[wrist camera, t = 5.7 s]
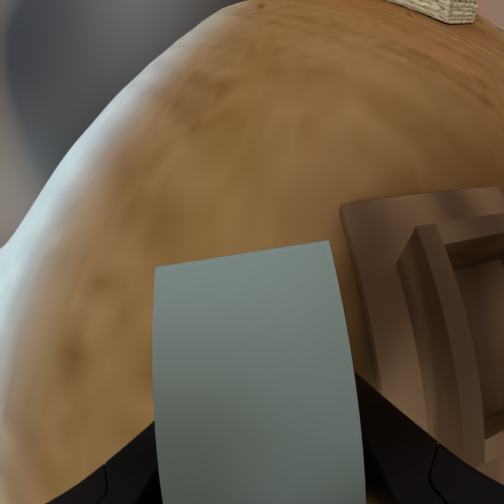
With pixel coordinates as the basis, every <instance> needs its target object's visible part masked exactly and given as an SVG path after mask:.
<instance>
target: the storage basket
mask: <svg viewBox="0 0 504 504" xmlns="http://www.w3.org/2000/svg"><path fill="white" fill-rule="evenodd" d="M386 1H388V2H391V3H396V4H398V5H402V6H404V7H406V8H409V9H411V10H414V11H418V12H420V13H423V14H425V15H428V16H431V17H433V18H435V19H438V20H440V21H443V22H445V23H448V24H456V23H457V24H460V23H462V24H465V23H473V22H474V20H475V16H476V12H477V9H478V4H479V0H386Z"/></svg>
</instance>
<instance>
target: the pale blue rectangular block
mask: <svg viewBox="0 0 504 504" xmlns="http://www.w3.org/2000/svg"><path fill="white" fill-rule="evenodd" d="M152 361H153V401H154V421H155V436H156V448H157V459H158V469H159V477H160V486H161V493H162V500H163V504H366V493H365V474H364V459H363V446H362V435H361V425H360V416H359V407H358V399H357V391H356V383H355V376H354V369H353V363H352V356H351V350H350V344H349V338H348V332H347V326H346V320H345V315H344V310H343V304H342V299H341V294H340V289H339V284H338V279H337V275H336V270H335V265H334V261H333V256H332V252H331V248H330V243H329V240H327V241H320V242H314V243H308V244H301V245H295V246H288V247H282V248H276V249H269V250H263V251H256V252H250V253H244V254H237V255H231V256H224V257H218V258H212V259H205V260H199V261H192V262H186V263H180V264H173V265H167V266H160V267H155V281H154V301H153V343H152Z"/></svg>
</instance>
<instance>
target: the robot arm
mask: <svg viewBox="0 0 504 504" xmlns="http://www.w3.org/2000/svg"><path fill="white" fill-rule="evenodd" d="M354 376H355V383H356V391H357V399H358V407H359V416H360V425H361V435H362V446H363V459H364V474H365V493H366V504H504V485H503V484H501V483H499V482H497V481H495V480H494V479H492V478H490V477H488V476H486V475H485V474H483V473H481V472H480V471H478V470H476V469H475V468H473V467H472V466H470V465H468V464H467V463H465V462H464V461H463V460H461V459H460V458H459V457H457V456H456V455H455V454H453V453H452V452H451V451H449V450H448V449H447V448H446V447H444V446H443V445H442V444H441V443H439V444H438V441H437V440H436V439H434V438H433V437H432V436H431V435H429V434H428V433H427V432H426V431H425V430H423V429H422V428H421V427H420V426H418V425H417V424H416V423H415V422H414V421H412V420H411V419H410V418H409V417H408V416H406V415H405V414H404V413H403V412H402V411H400V410H399V409H398V408H397V407H396V406H394V405H393V404H392V403H391V402H390V401H388V400H387V399H386V398H385V397H384V396H383V395H381V394H380V393H379V392H378V391H377V390H375V389H374V388H373V387H372V386H371V385H370V384H368V383H367V382H366V381H365V380H364V379H362V378H361V377H360V376H359V375H358V374H357V373H355V372H354ZM437 444H438V445H437ZM46 504H163V500H162V493H161V486H160V477H159V469H158V459H157V448H156V436H155V421H153V422H152V423H151V424H150V425H149V426H148V427H147V428H145V429H144V430H143V431H142V432H141V433H140V434H139V435H137V436H136V437H135V438H134V439H133V440H132V441H130V442H129V443H128V444H127V445H126V446H125V447H123V448H122V449H121V450H120V451H119V452H118V453H116V454H115V455H114V456H113V457H112V458H110V459H109V460H108V461H107V462H106V463H105V465H104V464H103V465H102V466H100V467H99V468H98V469H97V470H96V471H94V472H93V473H92V474H90V475H89V476H88V477H86V478H85V479H84V480H82V481H81V482H80V483H78V484H77V485H75V486H74V487H72V488H71V489H69V490H68V491H66V492H64V493H63V494H61V495H60V496H58V497H56V498H54V499H53V500H51V501H49V502H47V503H46Z"/></svg>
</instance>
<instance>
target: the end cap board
mask: <svg viewBox="0 0 504 504" xmlns="http://www.w3.org/2000/svg"><path fill="white" fill-rule="evenodd" d="M340 218H341V221H342V225H343V229H344V232H345V236H346V240H347V243H348V247H349V251H350V255H351V259H352V263H353V267H354V271H355V276H356V280H357V284H358V289H359V293H360V298H361V302H362V307H363V312H364V317H365V322H366V327H367V332H368V338H369V343H370V349H371V355H372V361H373V367H374V374H375V381H376V388H377V391H378V392H379V393H380V394H381V395H383V396H384V397H385V398H386V399H387V400H388V401H390V402H391V403H392V404H393V405H394V406H396V407H397V408H398V409H399V410H400V411H402V412H403V413H404V414H405V415H406V416H408V417H409V418H410V419H411V420H412V421H414V422H415V423H416V424H417V425H418V426H420V427H421V428H422V429H423V430H425V431H426V432H427V433H428V434H429V435H431V436H432V437H433V438H434V439H436V440H437V441H438V444H439V443H441V444H442V445H443V446H444V447H446V448H447V449H448V450H449V451H451V452H452V453H453V454H455V455H456V456H457V457H459V458H460V459H461V460H463V461H464V462H465V463H467V464H468V465H470V466H472V467H473V468H475V469H476V470H478V471H480V472H481V473H483V474H485V475H486V476H488V477H490V478H492V479H494V480H495V481H497V482H499V483H501V484H503V485H504V195H503V193H502V192H501V190H500V188H499V186H491V187H480V188H469V189H459V190H450V191H440V192H431V193H422V194H414V195H406V196H397V197H389V198H382V199H374V200H366V201H359V202H352V203H344V204H341V206H340ZM438 444H437V445H438Z"/></svg>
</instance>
